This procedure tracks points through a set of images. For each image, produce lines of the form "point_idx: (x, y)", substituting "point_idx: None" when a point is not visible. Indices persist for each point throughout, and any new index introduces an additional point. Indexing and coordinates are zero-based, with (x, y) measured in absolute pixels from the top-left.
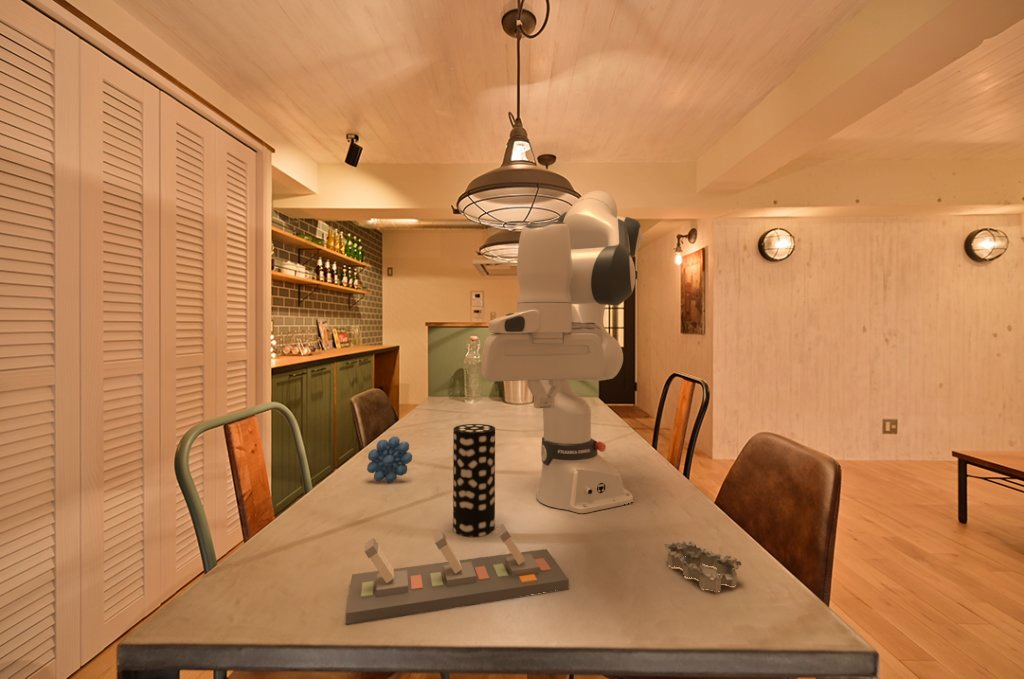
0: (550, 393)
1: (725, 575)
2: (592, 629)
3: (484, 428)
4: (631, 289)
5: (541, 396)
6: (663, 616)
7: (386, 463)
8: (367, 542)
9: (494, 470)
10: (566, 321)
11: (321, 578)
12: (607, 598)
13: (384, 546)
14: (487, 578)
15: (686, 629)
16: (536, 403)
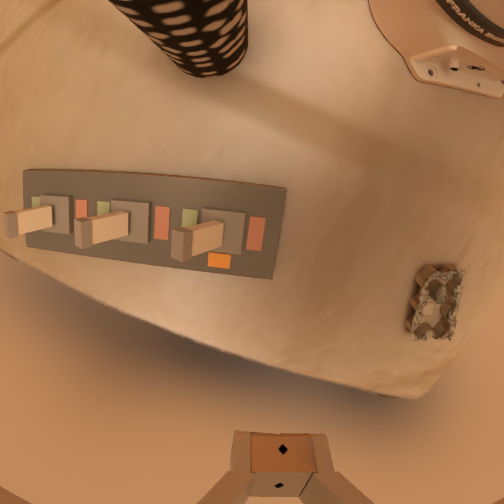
0: (314, 499)
1: (431, 332)
2: (256, 339)
3: None
4: None
5: (269, 482)
6: (335, 345)
7: None
8: (4, 215)
9: (237, 20)
10: None
11: (7, 148)
12: (304, 304)
13: (65, 77)
14: (165, 239)
15: (338, 363)
16: (230, 466)
